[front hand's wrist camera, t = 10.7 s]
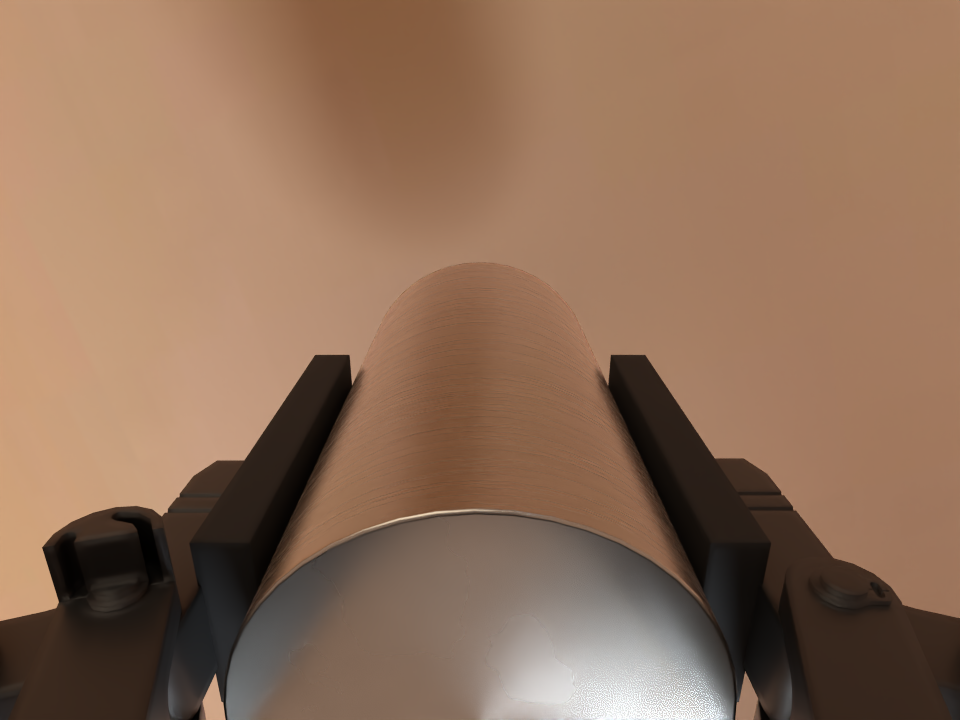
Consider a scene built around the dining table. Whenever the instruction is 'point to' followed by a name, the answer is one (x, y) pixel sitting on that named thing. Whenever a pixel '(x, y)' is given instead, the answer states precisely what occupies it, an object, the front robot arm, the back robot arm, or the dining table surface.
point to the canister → (480, 538)
